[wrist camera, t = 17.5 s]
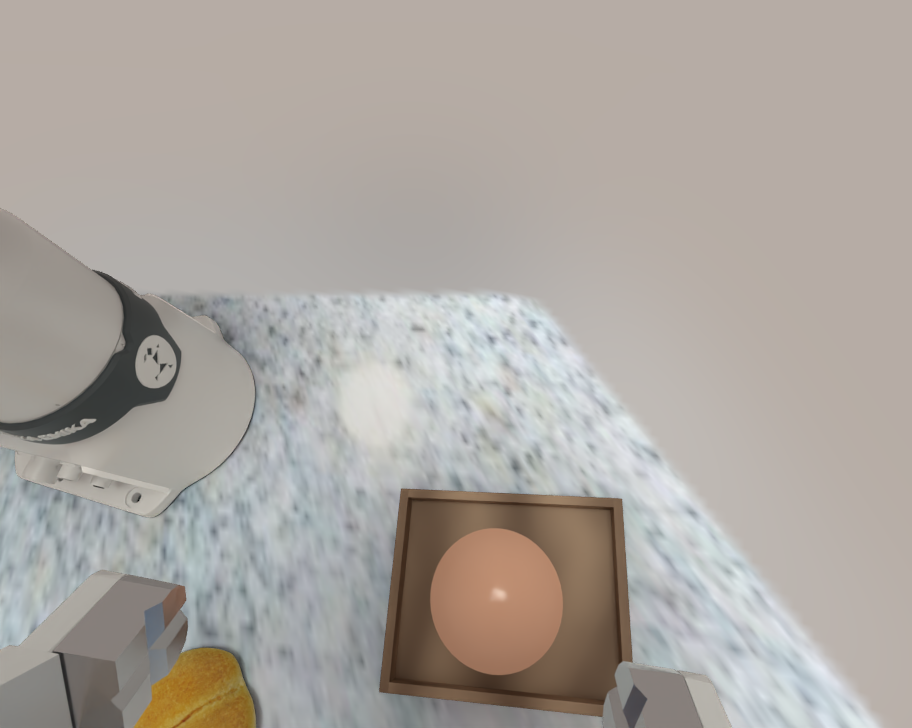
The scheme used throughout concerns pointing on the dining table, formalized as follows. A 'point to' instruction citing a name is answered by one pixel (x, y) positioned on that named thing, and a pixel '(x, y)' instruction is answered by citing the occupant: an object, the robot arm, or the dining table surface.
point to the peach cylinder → (496, 601)
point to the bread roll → (201, 694)
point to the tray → (583, 588)
